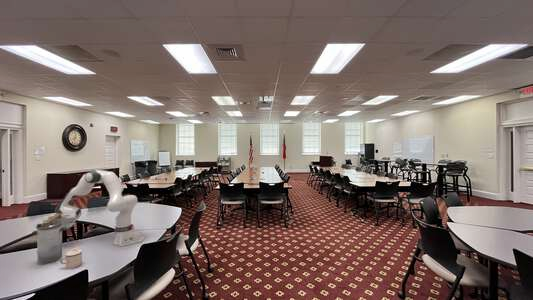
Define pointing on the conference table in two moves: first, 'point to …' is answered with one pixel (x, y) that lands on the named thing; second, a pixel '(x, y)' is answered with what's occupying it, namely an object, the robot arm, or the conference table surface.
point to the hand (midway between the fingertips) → (57, 215)
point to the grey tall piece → (49, 242)
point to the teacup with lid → (73, 258)
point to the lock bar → (52, 219)
